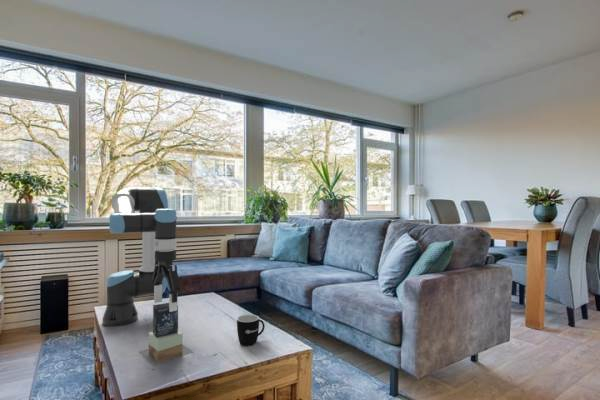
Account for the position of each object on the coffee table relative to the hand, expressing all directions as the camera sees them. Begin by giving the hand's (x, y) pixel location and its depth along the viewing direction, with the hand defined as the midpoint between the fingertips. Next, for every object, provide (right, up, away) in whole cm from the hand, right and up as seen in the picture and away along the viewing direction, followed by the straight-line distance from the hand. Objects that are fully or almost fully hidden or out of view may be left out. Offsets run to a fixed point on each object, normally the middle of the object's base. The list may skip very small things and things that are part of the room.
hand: (165, 306), depth 126 cm
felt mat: (0, -18, +2) cm, 18 cm away
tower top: (0, -14, 0) cm, 14 cm away
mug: (+31, -19, +11) cm, 38 cm away
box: (0, -10, -1) cm, 10 cm away
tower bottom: (0, -18, 0) cm, 18 cm away
